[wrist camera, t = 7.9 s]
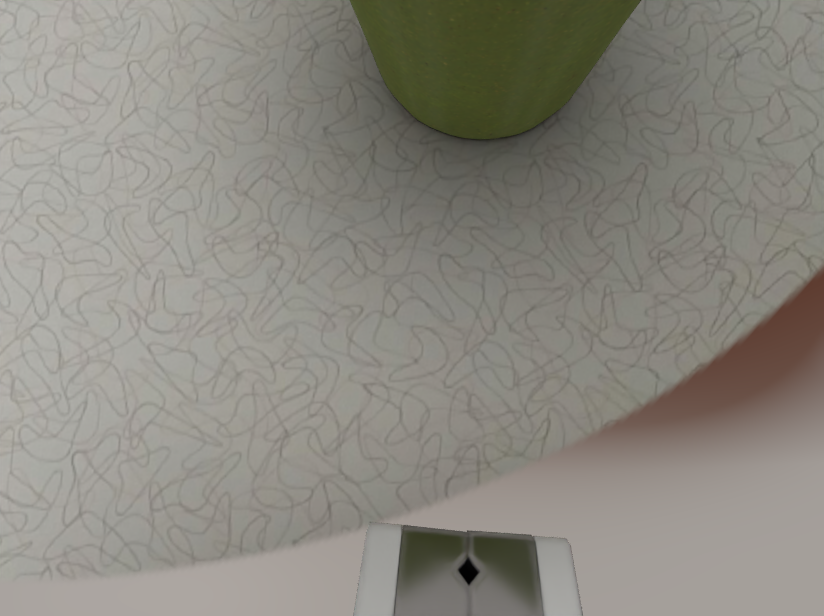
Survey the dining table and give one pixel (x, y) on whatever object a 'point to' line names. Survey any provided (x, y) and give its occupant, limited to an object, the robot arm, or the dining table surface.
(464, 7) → the plant pot
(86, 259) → the dining table surface
